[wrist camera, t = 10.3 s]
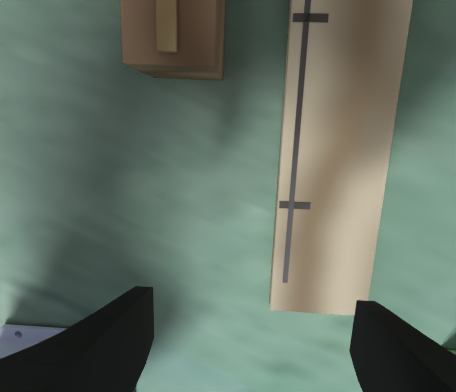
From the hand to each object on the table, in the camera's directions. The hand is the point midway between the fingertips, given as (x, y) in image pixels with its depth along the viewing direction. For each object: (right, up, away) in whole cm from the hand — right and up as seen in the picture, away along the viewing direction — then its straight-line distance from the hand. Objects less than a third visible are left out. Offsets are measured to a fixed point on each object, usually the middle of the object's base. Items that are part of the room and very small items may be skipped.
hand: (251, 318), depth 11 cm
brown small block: (-3, +14, +7) cm, 16 cm away
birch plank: (+5, +9, +7) cm, 13 cm away
